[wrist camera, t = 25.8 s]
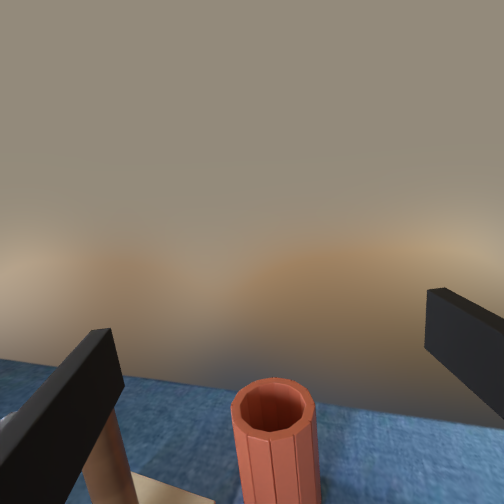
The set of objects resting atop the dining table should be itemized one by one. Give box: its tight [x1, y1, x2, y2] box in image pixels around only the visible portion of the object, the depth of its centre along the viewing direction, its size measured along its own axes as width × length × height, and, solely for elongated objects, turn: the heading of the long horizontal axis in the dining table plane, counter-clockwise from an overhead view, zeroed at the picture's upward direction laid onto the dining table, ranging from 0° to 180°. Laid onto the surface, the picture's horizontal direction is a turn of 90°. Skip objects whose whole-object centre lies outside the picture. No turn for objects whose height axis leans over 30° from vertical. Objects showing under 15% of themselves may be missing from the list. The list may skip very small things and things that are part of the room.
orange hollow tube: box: [231, 377, 321, 504], centre depth 26 cm, size 7×7×10 cm
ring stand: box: [82, 408, 215, 504], centre depth 22 cm, size 10×10×18 cm
